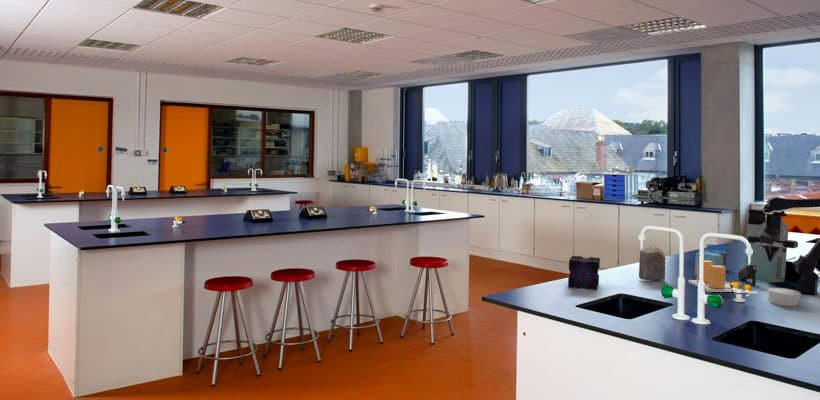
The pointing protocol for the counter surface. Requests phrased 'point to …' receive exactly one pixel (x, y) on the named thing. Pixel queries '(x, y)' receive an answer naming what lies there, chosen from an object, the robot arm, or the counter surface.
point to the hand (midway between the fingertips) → (770, 261)
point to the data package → (709, 259)
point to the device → (764, 267)
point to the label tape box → (717, 251)
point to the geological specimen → (652, 264)
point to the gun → (748, 274)
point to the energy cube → (584, 272)
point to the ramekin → (783, 296)
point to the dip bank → (710, 289)
